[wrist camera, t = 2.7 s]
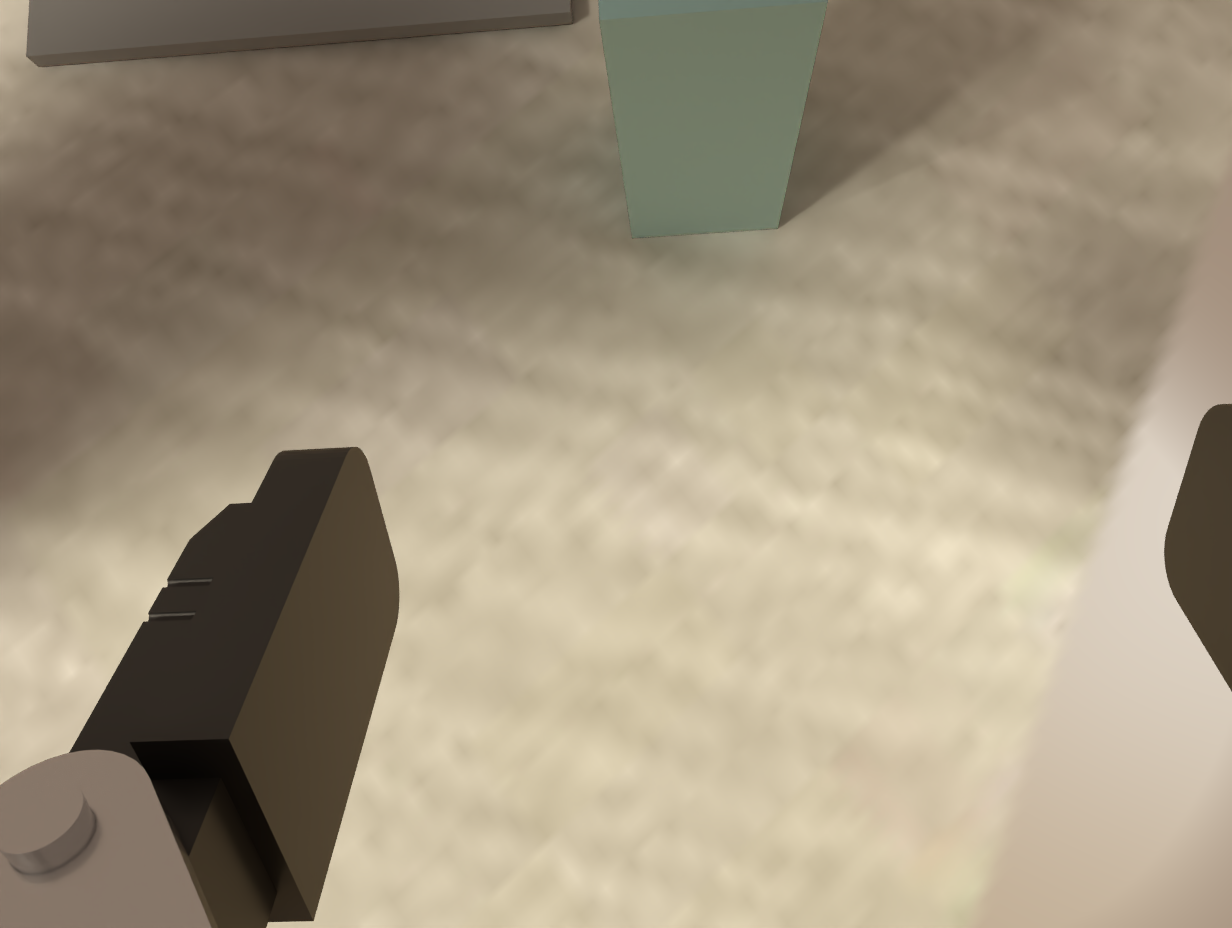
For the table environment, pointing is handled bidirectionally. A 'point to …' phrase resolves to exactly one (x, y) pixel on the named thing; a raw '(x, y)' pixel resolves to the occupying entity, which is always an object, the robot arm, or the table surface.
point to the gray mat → (257, 24)
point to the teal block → (708, 107)
